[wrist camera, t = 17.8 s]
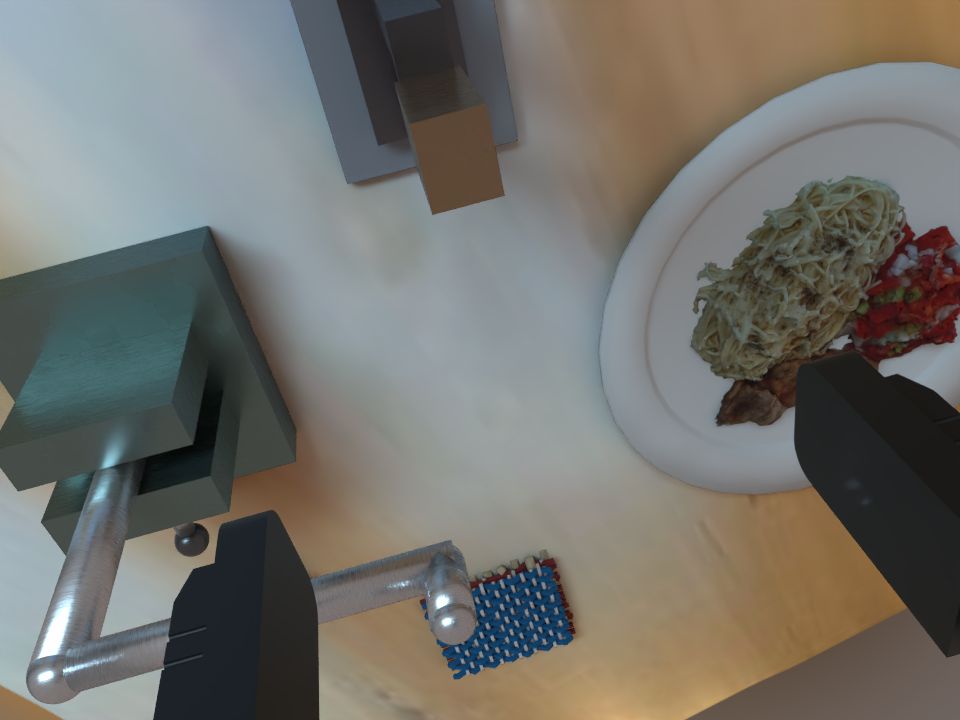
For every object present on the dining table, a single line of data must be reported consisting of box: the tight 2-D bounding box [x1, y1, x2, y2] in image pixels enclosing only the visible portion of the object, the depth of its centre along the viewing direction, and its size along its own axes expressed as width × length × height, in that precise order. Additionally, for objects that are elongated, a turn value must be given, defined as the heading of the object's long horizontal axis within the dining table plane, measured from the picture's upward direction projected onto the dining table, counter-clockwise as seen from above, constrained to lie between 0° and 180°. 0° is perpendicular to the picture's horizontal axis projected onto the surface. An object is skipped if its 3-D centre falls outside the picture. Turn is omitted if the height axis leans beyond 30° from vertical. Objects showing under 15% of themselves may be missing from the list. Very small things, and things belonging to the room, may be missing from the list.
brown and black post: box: [336, 0, 505, 215], centre depth 31 cm, size 7×5×15 cm
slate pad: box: [290, 0, 518, 184], centre depth 37 cm, size 11×9×1 cm
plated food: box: [598, 62, 960, 495], centre depth 49 cm, size 30×30×3 cm
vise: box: [0, 226, 477, 704], centre depth 35 cm, size 16×21×23 cm
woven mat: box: [420, 550, 576, 679], centre depth 61 cm, size 10×11×2 cm
